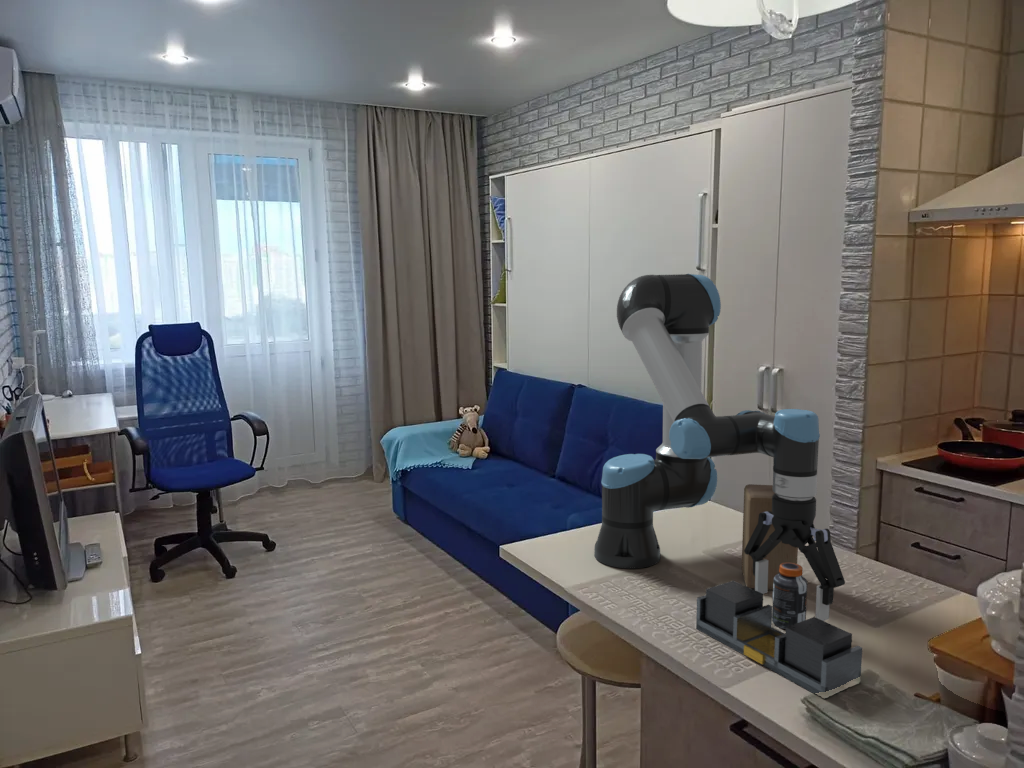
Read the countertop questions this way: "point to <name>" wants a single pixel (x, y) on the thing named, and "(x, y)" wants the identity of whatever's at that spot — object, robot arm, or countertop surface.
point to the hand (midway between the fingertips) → (790, 606)
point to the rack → (779, 639)
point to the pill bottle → (789, 596)
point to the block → (754, 504)
